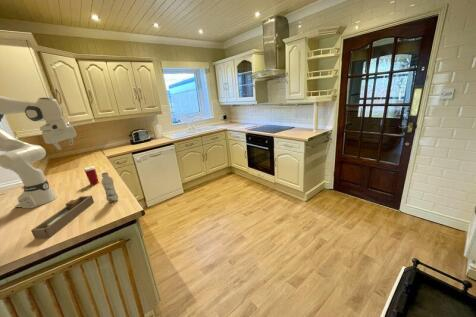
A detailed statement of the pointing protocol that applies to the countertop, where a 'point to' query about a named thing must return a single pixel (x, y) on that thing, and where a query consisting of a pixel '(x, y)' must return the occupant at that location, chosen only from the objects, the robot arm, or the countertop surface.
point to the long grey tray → (61, 219)
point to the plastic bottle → (109, 187)
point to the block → (72, 204)
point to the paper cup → (91, 175)
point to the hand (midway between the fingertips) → (65, 147)
